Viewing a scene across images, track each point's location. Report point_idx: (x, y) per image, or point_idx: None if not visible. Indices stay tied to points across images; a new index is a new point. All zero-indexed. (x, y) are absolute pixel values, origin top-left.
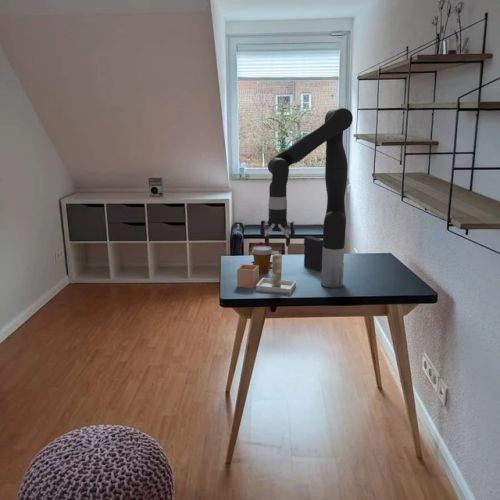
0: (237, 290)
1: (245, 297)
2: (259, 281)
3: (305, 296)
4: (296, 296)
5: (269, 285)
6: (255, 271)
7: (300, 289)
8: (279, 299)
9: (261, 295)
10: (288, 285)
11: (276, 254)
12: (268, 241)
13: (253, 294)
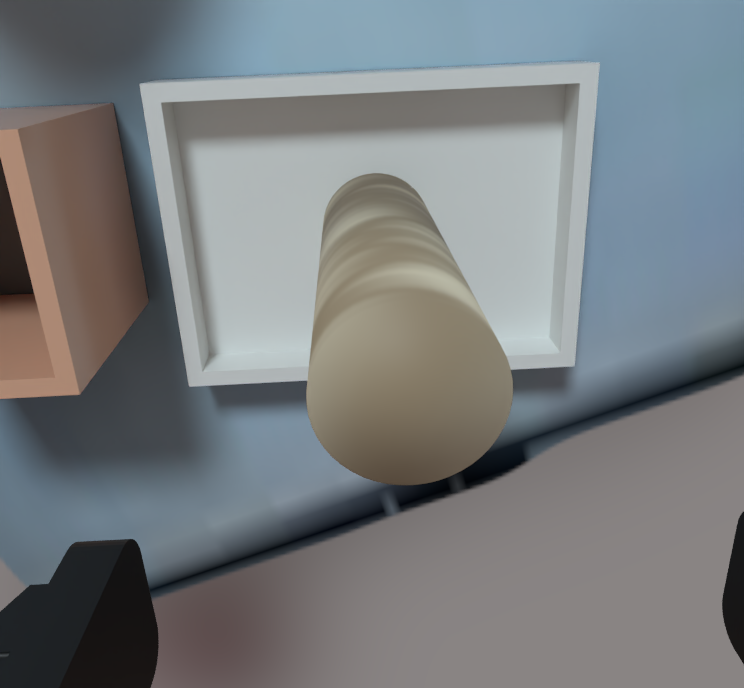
0: (32, 412)
1: (190, 535)
2: (167, 249)
3: (707, 331)
4: (622, 361)
5: (290, 212)
6: (76, 308)
7: (642, 145)
8: (483, 479)
9: (301, 449)
10: (501, 127)
11: (373, 337)
12: (117, 655)
13: (223, 452)
